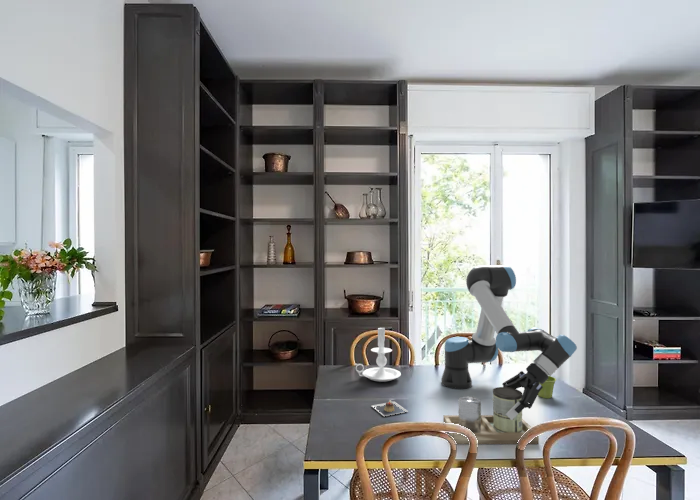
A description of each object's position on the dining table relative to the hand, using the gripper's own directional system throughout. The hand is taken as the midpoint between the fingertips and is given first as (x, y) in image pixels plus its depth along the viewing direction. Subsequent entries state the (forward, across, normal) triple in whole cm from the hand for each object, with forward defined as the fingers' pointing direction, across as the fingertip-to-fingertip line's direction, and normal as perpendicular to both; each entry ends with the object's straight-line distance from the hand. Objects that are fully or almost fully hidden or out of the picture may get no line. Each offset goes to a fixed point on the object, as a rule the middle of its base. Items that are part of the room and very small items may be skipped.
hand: (501, 409), depth 147 cm
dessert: (+35, +22, +21) cm, 47 cm away
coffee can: (+4, 0, -7) cm, 8 cm away
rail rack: (+10, 0, -3) cm, 10 cm away
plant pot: (-18, +37, -32) cm, 52 cm away
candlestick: (+36, +62, +23) cm, 75 cm away
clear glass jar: (+14, 0, +3) cm, 14 cm away
